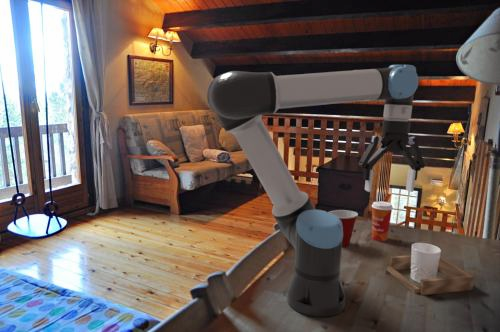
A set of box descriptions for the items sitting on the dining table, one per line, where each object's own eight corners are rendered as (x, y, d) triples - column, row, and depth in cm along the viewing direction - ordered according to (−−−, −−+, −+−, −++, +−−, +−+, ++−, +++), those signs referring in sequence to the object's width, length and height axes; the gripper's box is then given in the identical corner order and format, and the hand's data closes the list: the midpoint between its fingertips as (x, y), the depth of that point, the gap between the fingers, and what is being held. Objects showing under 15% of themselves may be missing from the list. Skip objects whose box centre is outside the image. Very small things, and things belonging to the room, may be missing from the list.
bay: (417, 295, 103) (418, 282, 103) (384, 268, 119) (385, 256, 118) (472, 289, 107) (474, 276, 106) (433, 264, 123) (434, 253, 122)
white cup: (440, 287, 108) (444, 254, 106) (411, 283, 110) (414, 251, 108) (433, 274, 116) (437, 244, 114) (406, 271, 117) (409, 241, 116)
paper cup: (364, 236, 147) (367, 201, 144) (381, 234, 149) (384, 200, 147) (377, 243, 140) (380, 207, 137) (394, 241, 142) (397, 205, 139)
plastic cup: (339, 236, 147) (341, 206, 144) (362, 245, 138) (364, 213, 136) (319, 241, 140) (321, 211, 138) (342, 251, 132) (344, 219, 130)
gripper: (362, 119, 103) (355, 194, 107) (443, 122, 108) (434, 193, 112) (350, 117, 111) (344, 187, 114) (427, 120, 115) (418, 187, 119)
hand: (388, 190), depth 113 cm, fingers open, 13 cm apart
